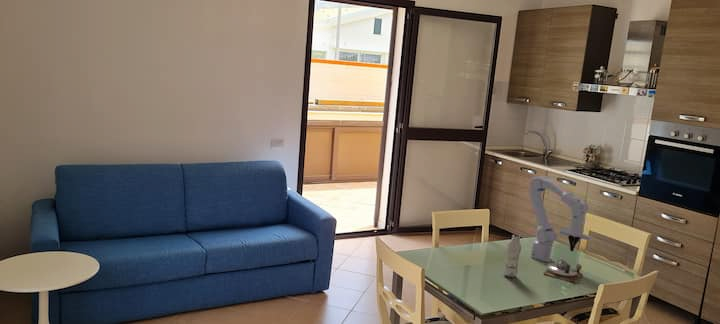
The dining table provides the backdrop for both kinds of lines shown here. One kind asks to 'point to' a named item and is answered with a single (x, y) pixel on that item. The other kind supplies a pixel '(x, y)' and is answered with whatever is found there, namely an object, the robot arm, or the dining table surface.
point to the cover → (561, 264)
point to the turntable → (565, 273)
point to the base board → (570, 279)
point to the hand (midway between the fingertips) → (571, 250)
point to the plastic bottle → (512, 257)
